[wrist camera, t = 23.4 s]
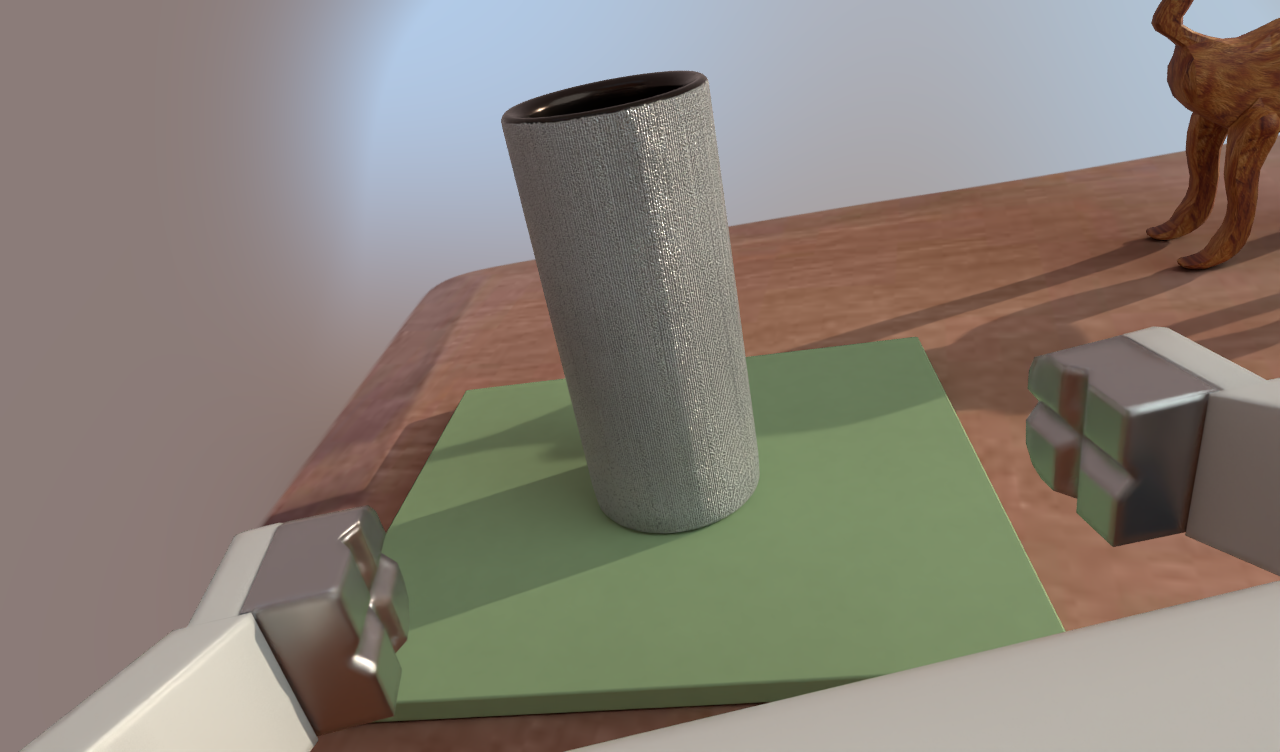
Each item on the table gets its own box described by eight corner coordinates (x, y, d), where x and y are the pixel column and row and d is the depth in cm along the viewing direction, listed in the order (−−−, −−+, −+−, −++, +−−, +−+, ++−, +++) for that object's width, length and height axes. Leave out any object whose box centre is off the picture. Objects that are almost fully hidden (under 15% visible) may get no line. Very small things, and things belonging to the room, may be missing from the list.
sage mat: (296, 727, 18) (285, 708, 17) (470, 403, 30) (465, 389, 30) (1081, 687, 15) (1083, 664, 15) (918, 351, 27) (918, 336, 27)
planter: (767, 526, 20) (709, 90, 15) (587, 545, 20) (477, 132, 16) (754, 429, 24) (705, 60, 19) (604, 447, 24) (520, 94, 20)
